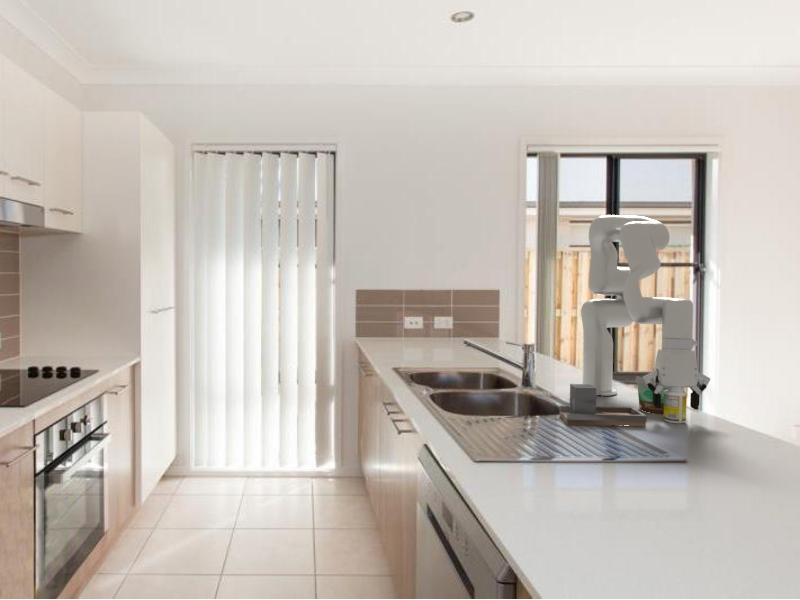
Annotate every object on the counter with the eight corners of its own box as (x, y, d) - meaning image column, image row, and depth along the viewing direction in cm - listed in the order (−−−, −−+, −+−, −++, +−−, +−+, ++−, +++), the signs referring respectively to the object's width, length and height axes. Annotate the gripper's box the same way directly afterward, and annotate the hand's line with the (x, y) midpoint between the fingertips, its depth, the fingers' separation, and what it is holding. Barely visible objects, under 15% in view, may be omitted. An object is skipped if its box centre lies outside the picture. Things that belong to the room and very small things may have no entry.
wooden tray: (559, 415, 167) (559, 382, 167) (632, 417, 166) (633, 383, 166) (567, 425, 156) (568, 389, 156) (646, 427, 155) (647, 390, 155)
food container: (631, 412, 173) (632, 377, 173) (634, 408, 179) (635, 374, 178) (678, 417, 167) (679, 381, 167) (679, 412, 173) (680, 378, 173)
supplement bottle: (680, 419, 165) (681, 382, 164) (689, 424, 159) (690, 386, 159) (659, 419, 165) (660, 382, 164) (668, 424, 159) (669, 385, 159)
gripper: (703, 343, 164) (702, 406, 165) (639, 342, 165) (638, 404, 166) (716, 346, 157) (715, 411, 157) (648, 345, 158) (647, 410, 158)
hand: (675, 408), depth 162 cm, fingers open, 9 cm apart
